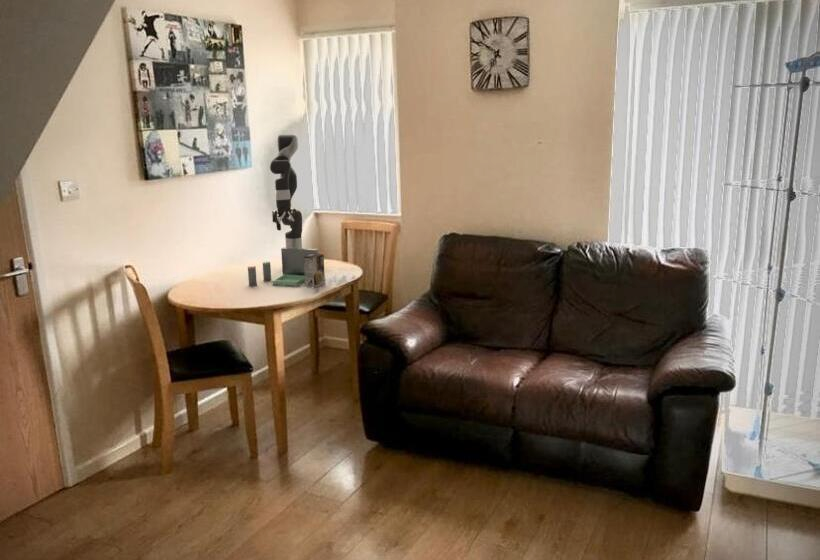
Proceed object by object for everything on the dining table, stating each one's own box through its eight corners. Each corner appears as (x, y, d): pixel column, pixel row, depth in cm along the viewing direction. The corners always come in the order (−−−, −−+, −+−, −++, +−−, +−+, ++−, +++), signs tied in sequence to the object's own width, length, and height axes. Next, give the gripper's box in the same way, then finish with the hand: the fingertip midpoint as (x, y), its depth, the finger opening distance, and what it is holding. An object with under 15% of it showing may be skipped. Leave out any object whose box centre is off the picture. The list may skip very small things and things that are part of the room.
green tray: (283, 278, 362) (283, 274, 362) (307, 280, 359) (306, 275, 359) (272, 285, 350) (272, 280, 349) (296, 286, 346) (296, 282, 346)
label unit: (286, 274, 372) (285, 246, 368) (320, 276, 367) (319, 247, 363) (280, 278, 364) (279, 249, 360) (315, 280, 359) (313, 250, 355)
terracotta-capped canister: (251, 284, 352) (249, 265, 350) (258, 284, 351) (256, 265, 349) (247, 285, 349) (246, 267, 346) (254, 286, 348) (253, 267, 345)
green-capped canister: (265, 279, 362) (264, 261, 360) (272, 279, 361) (271, 261, 359) (262, 281, 358) (261, 262, 356) (269, 281, 357) (268, 263, 355)
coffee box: (315, 282, 354) (314, 252, 350) (325, 284, 351) (324, 254, 347) (304, 286, 347) (303, 256, 343) (314, 288, 344) (313, 257, 340)
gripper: (289, 197, 359) (291, 227, 362) (267, 199, 348) (270, 230, 351) (298, 197, 354) (300, 228, 357) (276, 199, 343) (279, 231, 346)
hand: (285, 229), depth 354 cm, fingers open, 8 cm apart
